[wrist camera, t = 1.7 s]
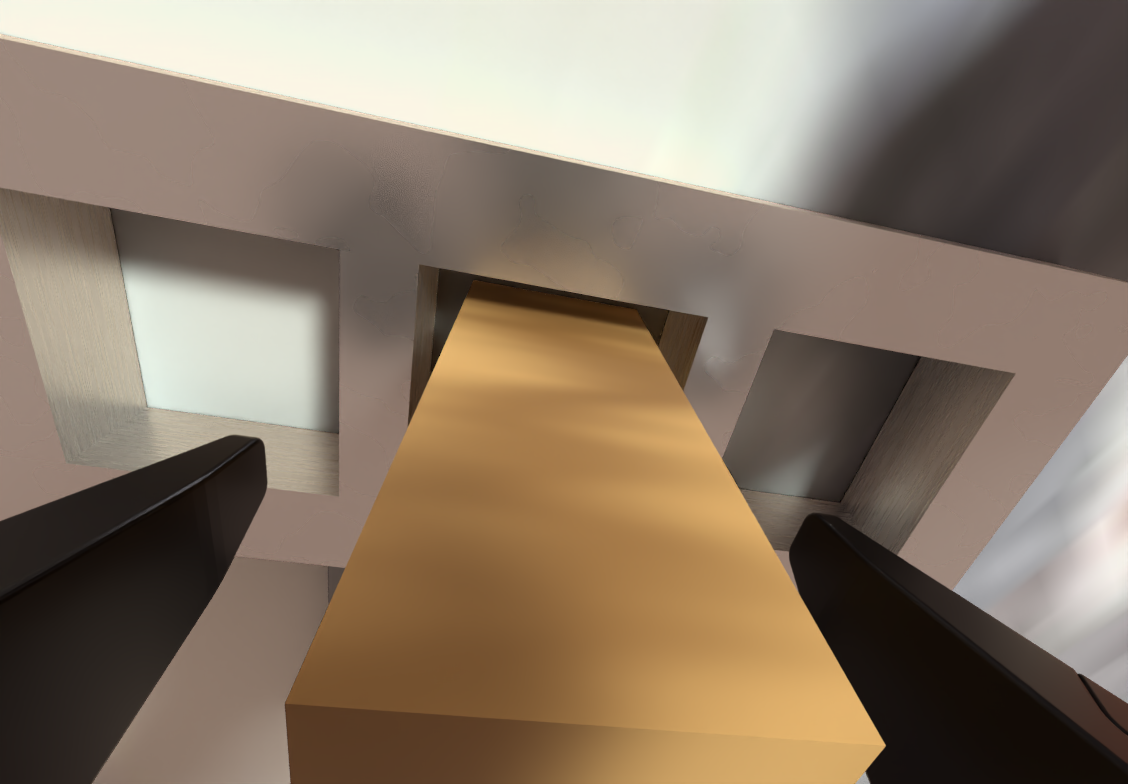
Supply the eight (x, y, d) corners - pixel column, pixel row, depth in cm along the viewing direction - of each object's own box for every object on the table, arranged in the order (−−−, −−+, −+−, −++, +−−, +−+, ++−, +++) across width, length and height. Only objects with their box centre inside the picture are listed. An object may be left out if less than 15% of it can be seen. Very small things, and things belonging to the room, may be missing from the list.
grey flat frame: (1059, 264, 12) (1173, 293, 10) (872, 563, 17) (923, 628, 15) (-53, 22, 9) (-237, -13, 7) (72, 465, 14) (-19, 529, 11)
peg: (636, 309, 12) (886, 745, 4) (599, 445, 14) (704, 967, 5) (473, 280, 12) (284, 703, 3) (456, 424, 14) (303, 963, 5)
